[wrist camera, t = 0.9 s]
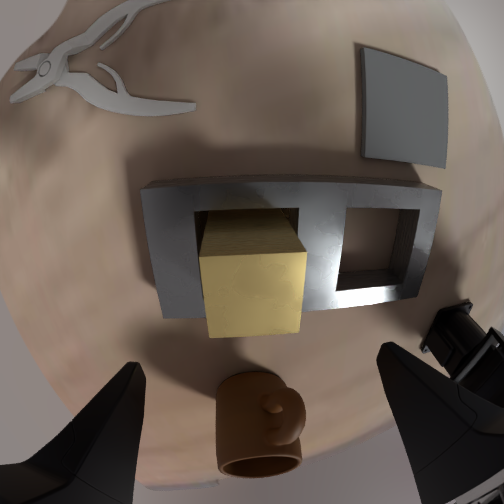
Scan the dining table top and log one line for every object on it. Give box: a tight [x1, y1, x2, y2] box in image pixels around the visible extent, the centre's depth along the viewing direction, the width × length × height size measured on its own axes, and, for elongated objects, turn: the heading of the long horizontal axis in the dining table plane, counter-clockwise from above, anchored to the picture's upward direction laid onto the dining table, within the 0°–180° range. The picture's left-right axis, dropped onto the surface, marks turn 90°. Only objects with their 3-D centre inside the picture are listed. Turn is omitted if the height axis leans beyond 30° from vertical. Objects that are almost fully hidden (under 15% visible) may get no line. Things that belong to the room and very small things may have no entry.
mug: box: [216, 372, 306, 478], centre depth 21 cm, size 12×8×9 cm, turn 161°
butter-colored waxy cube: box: [199, 208, 307, 338], centre depth 16 cm, size 5×5×7 cm
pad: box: [360, 47, 448, 169], centre depth 15 cm, size 8×8×1 cm
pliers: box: [10, 0, 196, 116], centre depth 12 cm, size 10×2×15 cm
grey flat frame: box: [140, 175, 442, 318], centre depth 18 cm, size 20×9×2 cm, turn 91°
